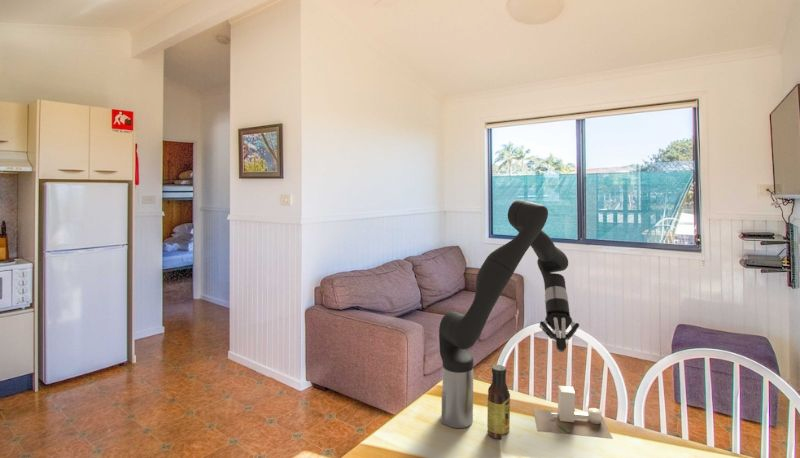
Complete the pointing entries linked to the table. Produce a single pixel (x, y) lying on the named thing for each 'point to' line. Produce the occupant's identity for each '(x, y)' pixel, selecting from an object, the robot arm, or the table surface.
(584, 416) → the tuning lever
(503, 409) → the sauce bottle
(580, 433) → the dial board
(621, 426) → the table surface
